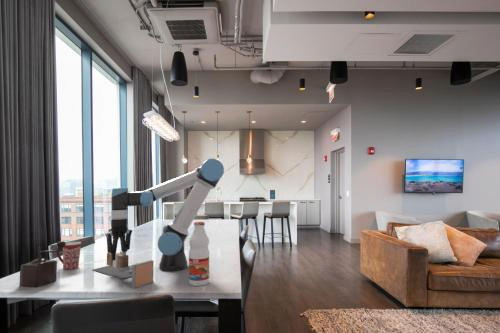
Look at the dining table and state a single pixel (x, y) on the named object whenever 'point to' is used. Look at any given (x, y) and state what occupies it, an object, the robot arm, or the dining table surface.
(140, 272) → the tile
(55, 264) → the manual coffee grinder
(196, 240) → the fruit juice
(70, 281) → the dining table surface
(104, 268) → the mat
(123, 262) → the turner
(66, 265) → the mug
